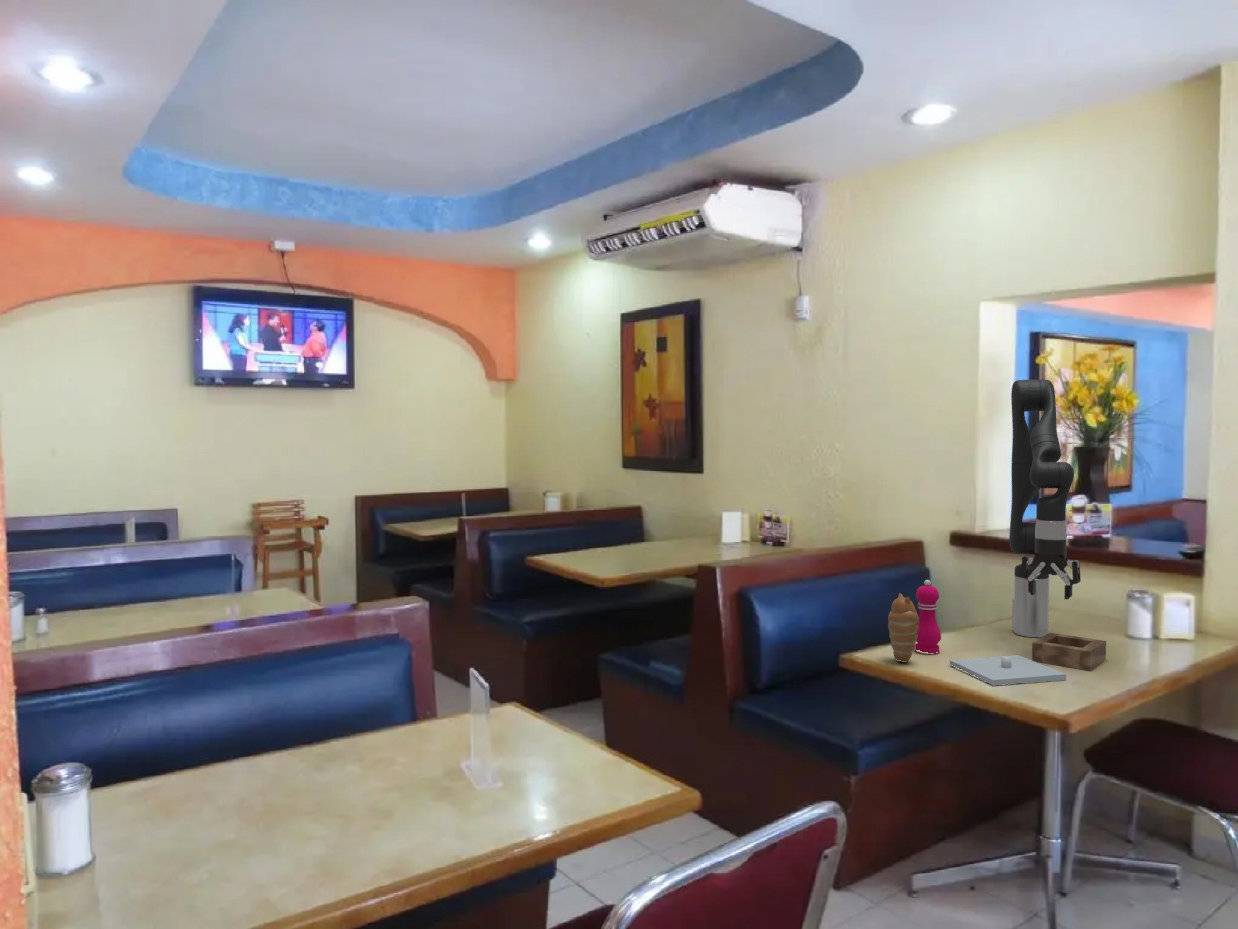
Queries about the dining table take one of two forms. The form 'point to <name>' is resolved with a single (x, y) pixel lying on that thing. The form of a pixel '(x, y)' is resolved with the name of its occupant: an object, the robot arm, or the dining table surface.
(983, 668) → the peg board
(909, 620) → the cat ice cream
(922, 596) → the pepper mill
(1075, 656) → the frame
